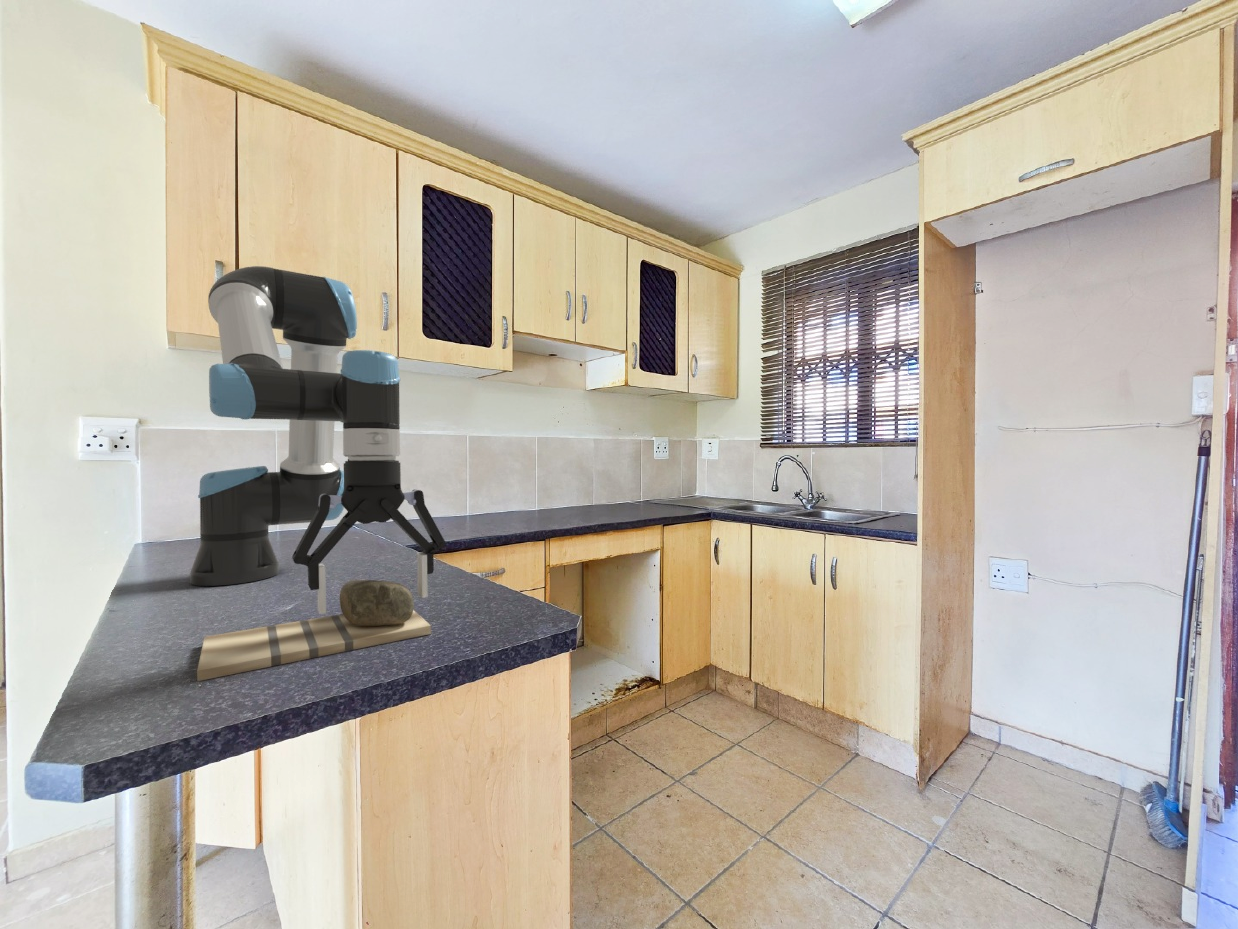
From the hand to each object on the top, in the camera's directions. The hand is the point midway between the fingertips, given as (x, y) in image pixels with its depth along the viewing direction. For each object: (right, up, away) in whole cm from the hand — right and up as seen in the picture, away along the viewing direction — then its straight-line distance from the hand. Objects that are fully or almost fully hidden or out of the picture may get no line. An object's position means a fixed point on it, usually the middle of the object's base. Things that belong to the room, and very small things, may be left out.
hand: (374, 603), depth 77 cm
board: (-6, -4, -4) cm, 8 cm away
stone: (-1, -3, +1) cm, 3 cm away
